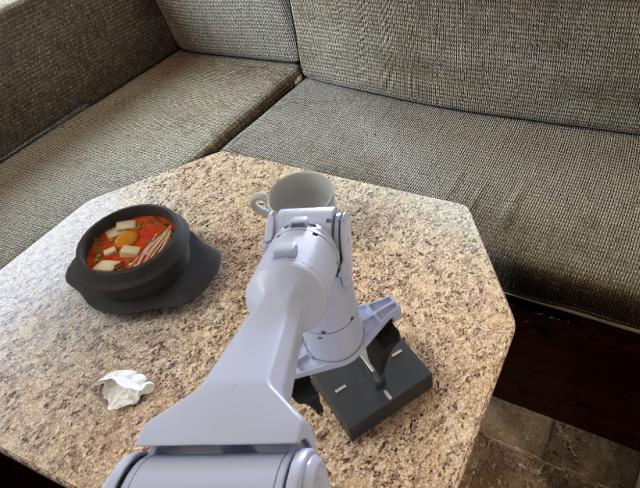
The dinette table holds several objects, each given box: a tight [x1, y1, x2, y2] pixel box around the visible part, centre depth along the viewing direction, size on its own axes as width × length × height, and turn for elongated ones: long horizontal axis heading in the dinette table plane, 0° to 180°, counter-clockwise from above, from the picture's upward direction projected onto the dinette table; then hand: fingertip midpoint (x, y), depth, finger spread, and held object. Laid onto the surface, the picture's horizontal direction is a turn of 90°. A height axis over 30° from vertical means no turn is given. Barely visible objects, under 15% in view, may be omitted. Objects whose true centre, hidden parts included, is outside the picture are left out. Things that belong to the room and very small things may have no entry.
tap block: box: [310, 335, 434, 442], centre depth 76 cm, size 12×10×3 cm
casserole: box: [64, 203, 222, 315], centre depth 93 cm, size 25×19×8 cm
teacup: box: [249, 170, 338, 218], centre depth 98 cm, size 14×11×8 cm
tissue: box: [83, 369, 156, 411], centre depth 78 cm, size 6×8×4 cm
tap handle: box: [354, 348, 386, 389], centre depth 74 cm, size 6×2×4 cm, turn 34°
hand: (347, 386), depth 66 cm, fingers open, 7 cm apart
